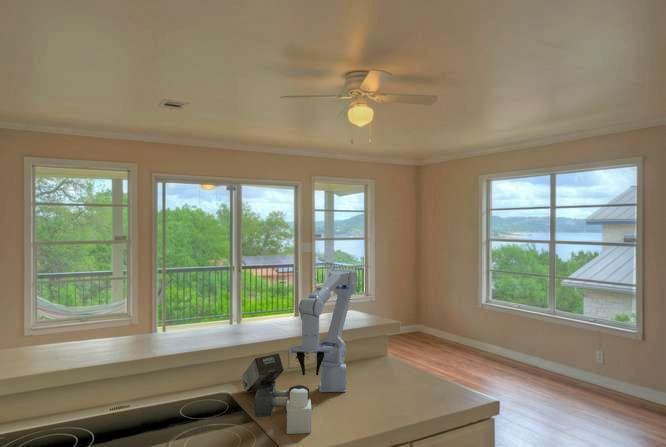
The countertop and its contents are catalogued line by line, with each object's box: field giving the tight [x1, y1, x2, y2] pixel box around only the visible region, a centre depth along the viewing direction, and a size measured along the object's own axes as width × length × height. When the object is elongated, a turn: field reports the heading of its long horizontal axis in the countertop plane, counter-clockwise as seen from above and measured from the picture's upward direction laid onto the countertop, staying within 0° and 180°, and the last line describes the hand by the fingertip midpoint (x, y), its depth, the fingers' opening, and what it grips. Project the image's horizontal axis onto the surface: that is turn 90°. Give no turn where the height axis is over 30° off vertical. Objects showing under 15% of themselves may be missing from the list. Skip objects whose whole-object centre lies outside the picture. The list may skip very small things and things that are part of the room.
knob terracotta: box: [272, 395, 289, 407], centre depth 144 cm, size 9×4×4 cm, turn 92°
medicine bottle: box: [285, 384, 312, 435], centre depth 132 cm, size 7×7×12 cm
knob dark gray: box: [274, 386, 292, 398], centre depth 151 cm, size 9×4×4 cm, turn 92°
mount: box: [254, 380, 277, 418], centre depth 147 cm, size 5×14×6 cm, turn 2°
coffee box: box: [240, 353, 285, 394], centre depth 158 cm, size 9×6×16 cm
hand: (310, 374), depth 151 cm, fingers open, 4 cm apart
